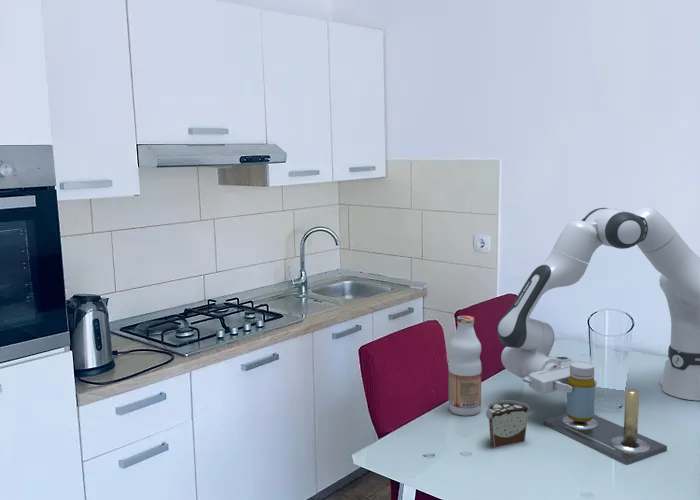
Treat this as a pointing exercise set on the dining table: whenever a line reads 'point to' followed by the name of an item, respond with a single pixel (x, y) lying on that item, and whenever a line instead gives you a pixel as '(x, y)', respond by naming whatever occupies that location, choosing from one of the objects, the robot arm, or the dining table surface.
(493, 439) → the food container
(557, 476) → the dining table surface
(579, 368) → the bottle
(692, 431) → the dining table surface
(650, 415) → the dining table surface
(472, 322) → the fruit juice
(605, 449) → the gauge plate
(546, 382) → the robot arm
